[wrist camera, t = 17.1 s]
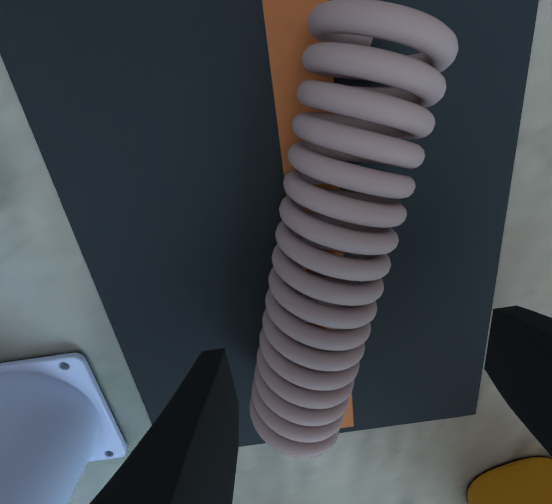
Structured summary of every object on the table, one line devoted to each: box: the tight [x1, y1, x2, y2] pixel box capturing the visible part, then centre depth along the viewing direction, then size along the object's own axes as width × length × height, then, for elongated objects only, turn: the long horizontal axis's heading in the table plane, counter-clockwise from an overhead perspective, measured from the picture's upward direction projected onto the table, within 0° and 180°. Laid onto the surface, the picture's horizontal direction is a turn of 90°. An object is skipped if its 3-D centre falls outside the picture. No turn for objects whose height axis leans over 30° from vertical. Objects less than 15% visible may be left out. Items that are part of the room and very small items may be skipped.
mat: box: [0, 0, 539, 447], centre depth 16 cm, size 20×26×1 cm
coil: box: [249, 0, 458, 458], centre depth 13 cm, size 5×5×18 cm
